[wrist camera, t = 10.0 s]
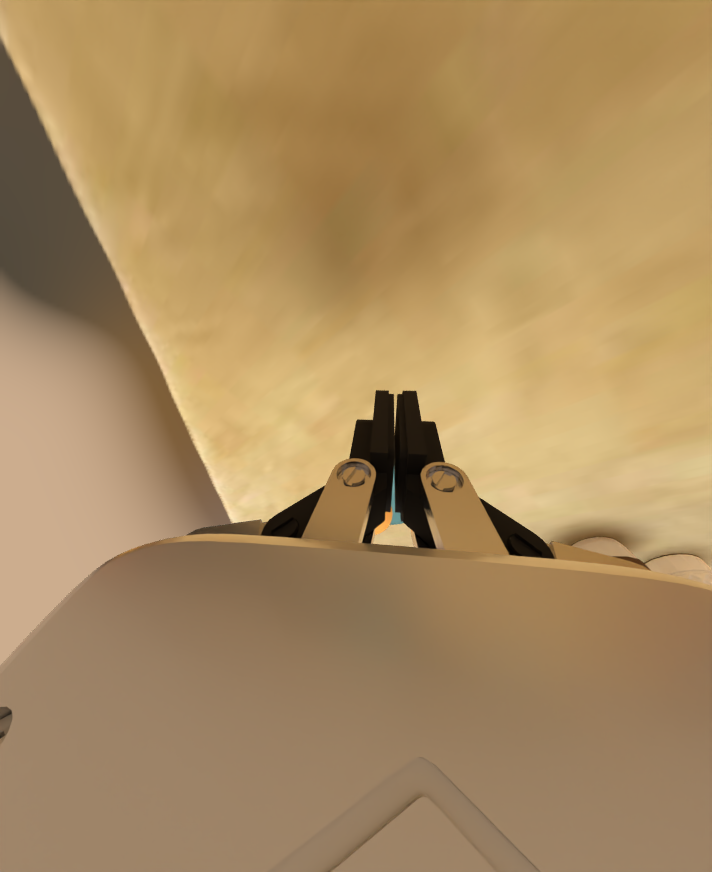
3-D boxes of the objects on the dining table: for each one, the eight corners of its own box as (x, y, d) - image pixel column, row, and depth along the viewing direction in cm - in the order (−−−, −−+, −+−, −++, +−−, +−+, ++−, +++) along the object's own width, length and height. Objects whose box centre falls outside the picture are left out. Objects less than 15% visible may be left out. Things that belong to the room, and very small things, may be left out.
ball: (390, 545, 30) (386, 529, 36) (398, 501, 30) (393, 491, 36) (345, 537, 30) (348, 521, 36) (353, 492, 30) (355, 484, 36)
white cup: (622, 568, 40) (680, 649, 32) (678, 545, 35) (763, 634, 27) (661, 581, 41) (726, 662, 33) (721, 560, 36) (813, 650, 28)
